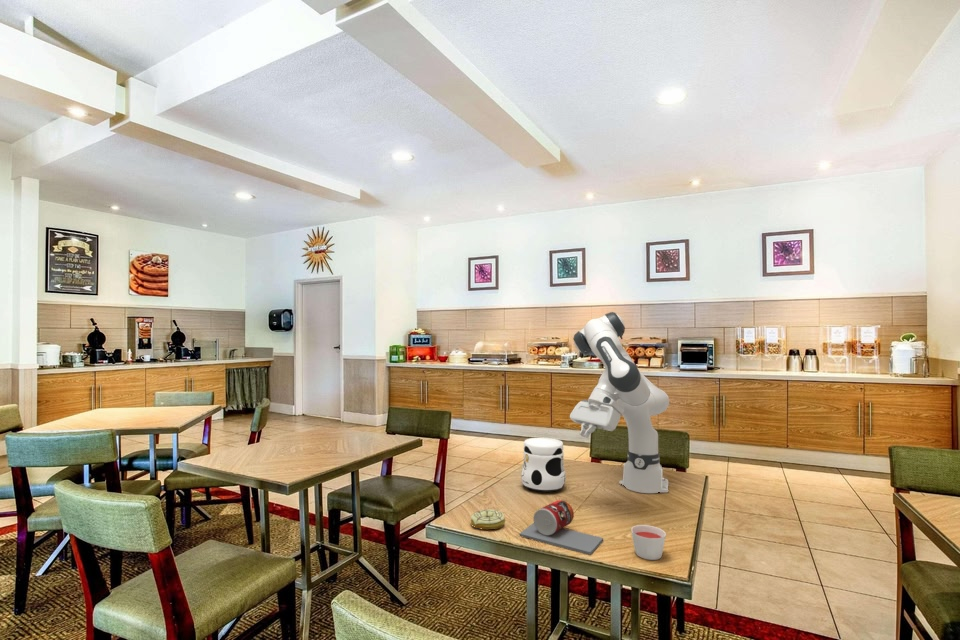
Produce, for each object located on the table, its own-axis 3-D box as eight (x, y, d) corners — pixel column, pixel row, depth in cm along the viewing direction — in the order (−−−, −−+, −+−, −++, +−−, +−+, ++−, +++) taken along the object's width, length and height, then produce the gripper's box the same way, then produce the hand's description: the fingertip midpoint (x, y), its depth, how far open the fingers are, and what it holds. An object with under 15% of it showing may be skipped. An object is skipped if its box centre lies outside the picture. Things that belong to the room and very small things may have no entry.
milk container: (513, 483, 193) (514, 438, 193) (551, 479, 199) (552, 435, 200) (533, 497, 177) (533, 448, 177) (574, 492, 183) (574, 445, 183)
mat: (535, 523, 152) (535, 521, 152) (603, 540, 140) (603, 537, 141) (519, 536, 143) (519, 533, 143) (590, 555, 131) (590, 552, 131)
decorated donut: (469, 519, 156) (469, 507, 156) (502, 518, 157) (502, 506, 157) (472, 532, 146) (472, 520, 146) (507, 531, 147) (507, 519, 147)
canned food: (578, 521, 147) (559, 533, 138) (558, 527, 151) (538, 538, 143) (568, 496, 149) (549, 506, 141) (549, 502, 154) (529, 512, 145)
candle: (637, 544, 138) (637, 522, 138) (669, 553, 133) (669, 530, 133) (626, 556, 131) (626, 532, 131) (660, 565, 126) (660, 541, 126)
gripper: (576, 394, 177) (558, 426, 173) (616, 400, 159) (598, 436, 155) (587, 403, 179) (569, 435, 175) (628, 410, 161) (609, 446, 157)
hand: (583, 436), depth 165 cm, fingers closed
